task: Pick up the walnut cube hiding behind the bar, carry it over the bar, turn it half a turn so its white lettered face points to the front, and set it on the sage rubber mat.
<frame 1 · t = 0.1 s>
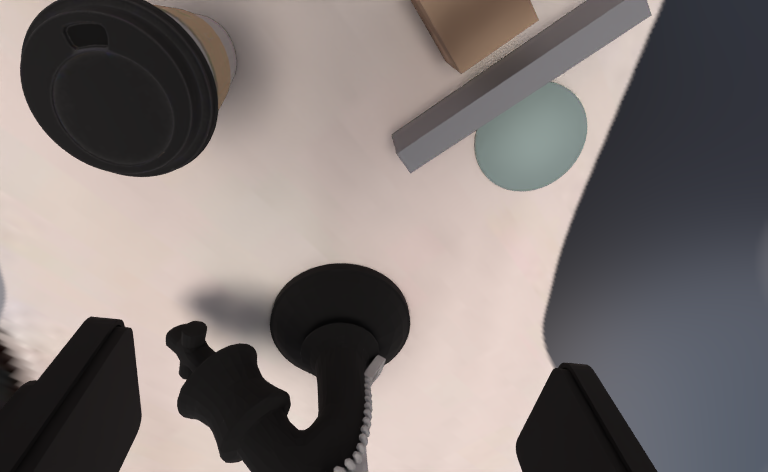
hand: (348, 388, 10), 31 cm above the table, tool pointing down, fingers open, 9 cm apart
bar: (497, 76, 37), on the table
coffee cup: (199, 56, 35), on the table
mat: (529, 138, 40), on the table
cube: (459, 3, 34), on the table
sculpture: (302, 313, 48), on the table
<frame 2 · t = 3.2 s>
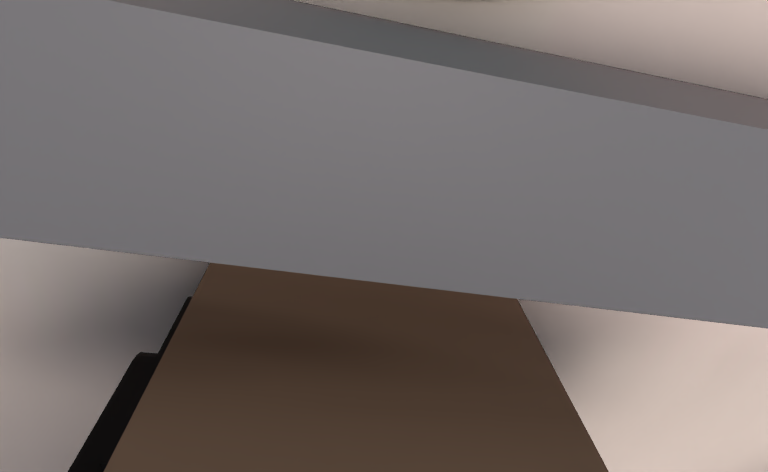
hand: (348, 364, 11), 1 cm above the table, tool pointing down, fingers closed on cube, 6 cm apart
bar: (401, 84, 8), on the table
cube: (348, 344, 11), on the table, touching gripper
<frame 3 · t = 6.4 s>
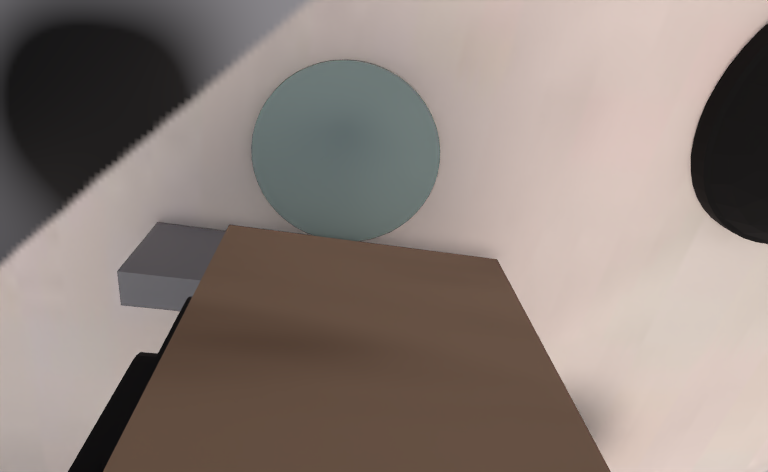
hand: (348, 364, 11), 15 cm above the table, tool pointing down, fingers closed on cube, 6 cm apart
bar: (331, 258, 27), on the table
mat: (347, 158, 24), on the table
cube: (349, 344, 11), point 15 cm above the table, touching gripper
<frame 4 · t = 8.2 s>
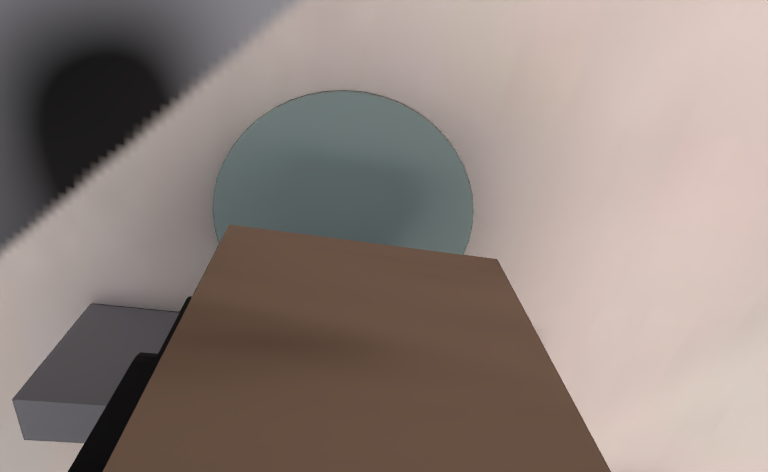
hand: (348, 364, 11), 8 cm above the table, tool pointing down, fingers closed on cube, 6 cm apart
bar: (325, 343, 21), on the table
mat: (346, 220, 18), on the table
cube: (349, 344, 11), point 7 cm above the table, touching gripper
when the fingers open (2 cm above the table, at t = 9.6 s): cube drops 1 cm, resting on mat.
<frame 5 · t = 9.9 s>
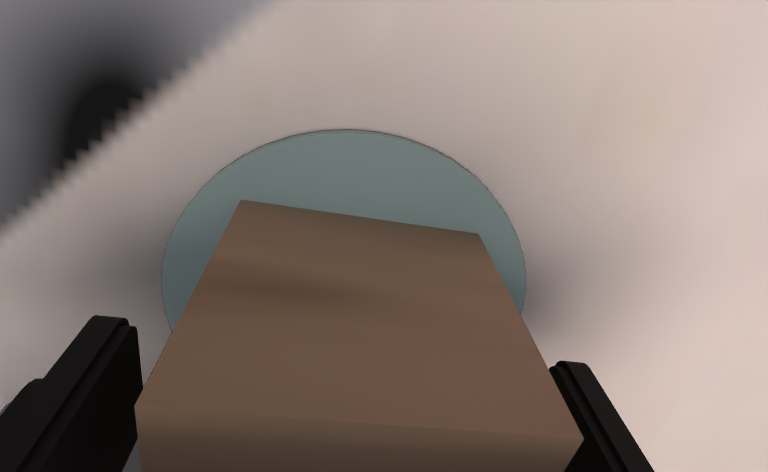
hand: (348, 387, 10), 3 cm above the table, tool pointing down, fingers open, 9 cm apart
bar: (321, 444, 16), on the table
mat: (349, 300, 13), on the table
cube: (346, 311, 12), resting on mat
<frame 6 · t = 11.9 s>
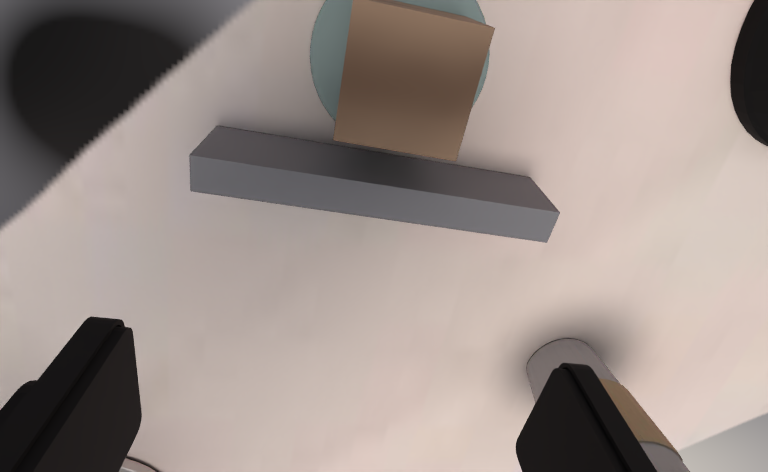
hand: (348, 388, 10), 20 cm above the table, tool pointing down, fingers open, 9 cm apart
bar: (378, 167, 28), on the table
coffee cup: (560, 360, 38), on the table
mat: (399, 61, 25), on the table
cube: (398, 63, 25), resting on mat
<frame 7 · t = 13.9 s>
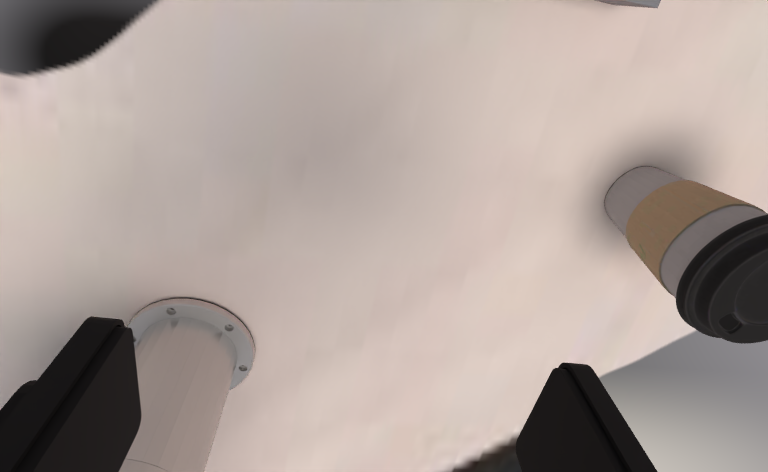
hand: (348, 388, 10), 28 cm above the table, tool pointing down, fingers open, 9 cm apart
coffee cup: (636, 194, 41), on the table
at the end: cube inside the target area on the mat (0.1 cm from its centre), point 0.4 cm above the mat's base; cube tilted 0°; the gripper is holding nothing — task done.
